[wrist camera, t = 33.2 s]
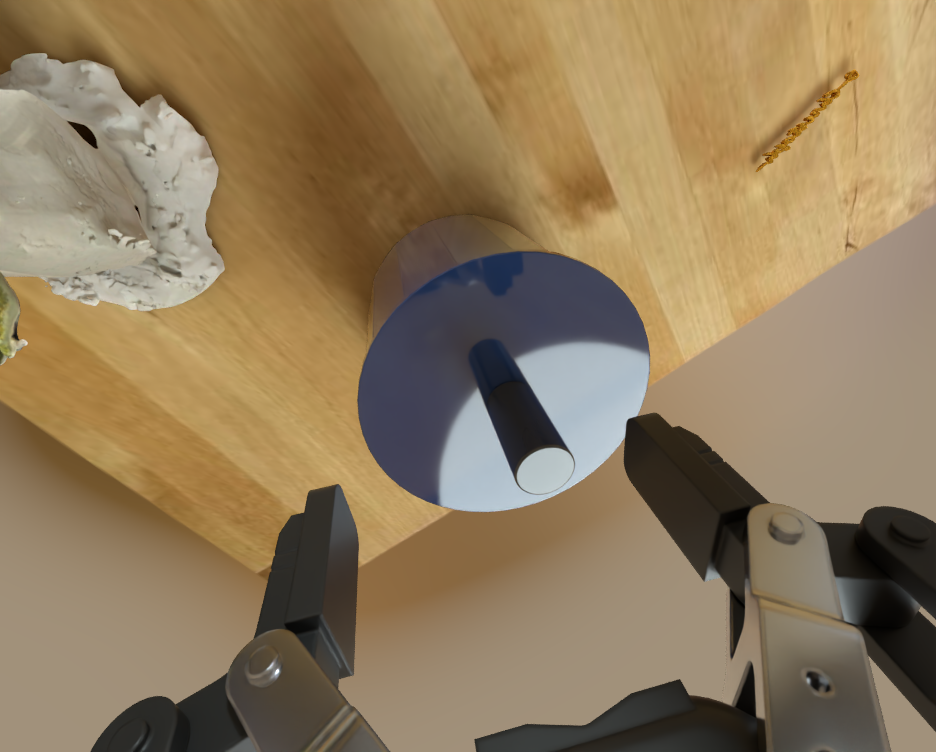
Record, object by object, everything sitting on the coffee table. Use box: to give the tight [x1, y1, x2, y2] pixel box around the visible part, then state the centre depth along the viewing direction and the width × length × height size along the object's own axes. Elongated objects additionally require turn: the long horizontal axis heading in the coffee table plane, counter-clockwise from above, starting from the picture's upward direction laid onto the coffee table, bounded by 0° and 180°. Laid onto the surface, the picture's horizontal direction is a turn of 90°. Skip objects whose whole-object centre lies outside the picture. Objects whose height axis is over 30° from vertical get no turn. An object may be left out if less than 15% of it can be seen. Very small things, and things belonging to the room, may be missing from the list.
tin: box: [366, 214, 548, 353], centre depth 27 cm, size 13×13×12 cm
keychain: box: [756, 70, 859, 172], centre depth 29 cm, size 8×1×1 cm, turn 138°
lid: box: [357, 249, 650, 512], centre depth 19 cm, size 14×14×6 cm
